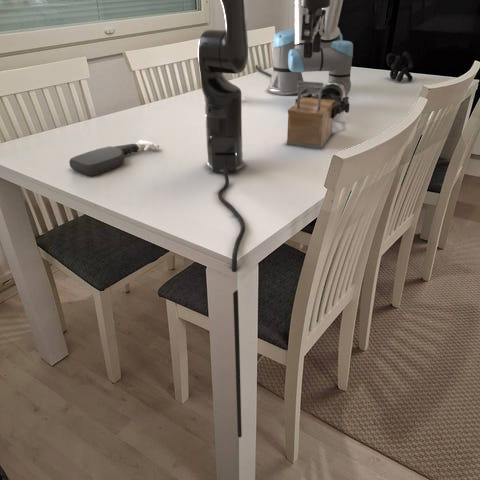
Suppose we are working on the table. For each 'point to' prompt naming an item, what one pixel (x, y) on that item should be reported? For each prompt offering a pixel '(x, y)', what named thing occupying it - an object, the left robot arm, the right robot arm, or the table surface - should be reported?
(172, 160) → the table surface
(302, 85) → the wooden door panel
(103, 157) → the spray bottle
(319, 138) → the chest
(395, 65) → the squiggle
